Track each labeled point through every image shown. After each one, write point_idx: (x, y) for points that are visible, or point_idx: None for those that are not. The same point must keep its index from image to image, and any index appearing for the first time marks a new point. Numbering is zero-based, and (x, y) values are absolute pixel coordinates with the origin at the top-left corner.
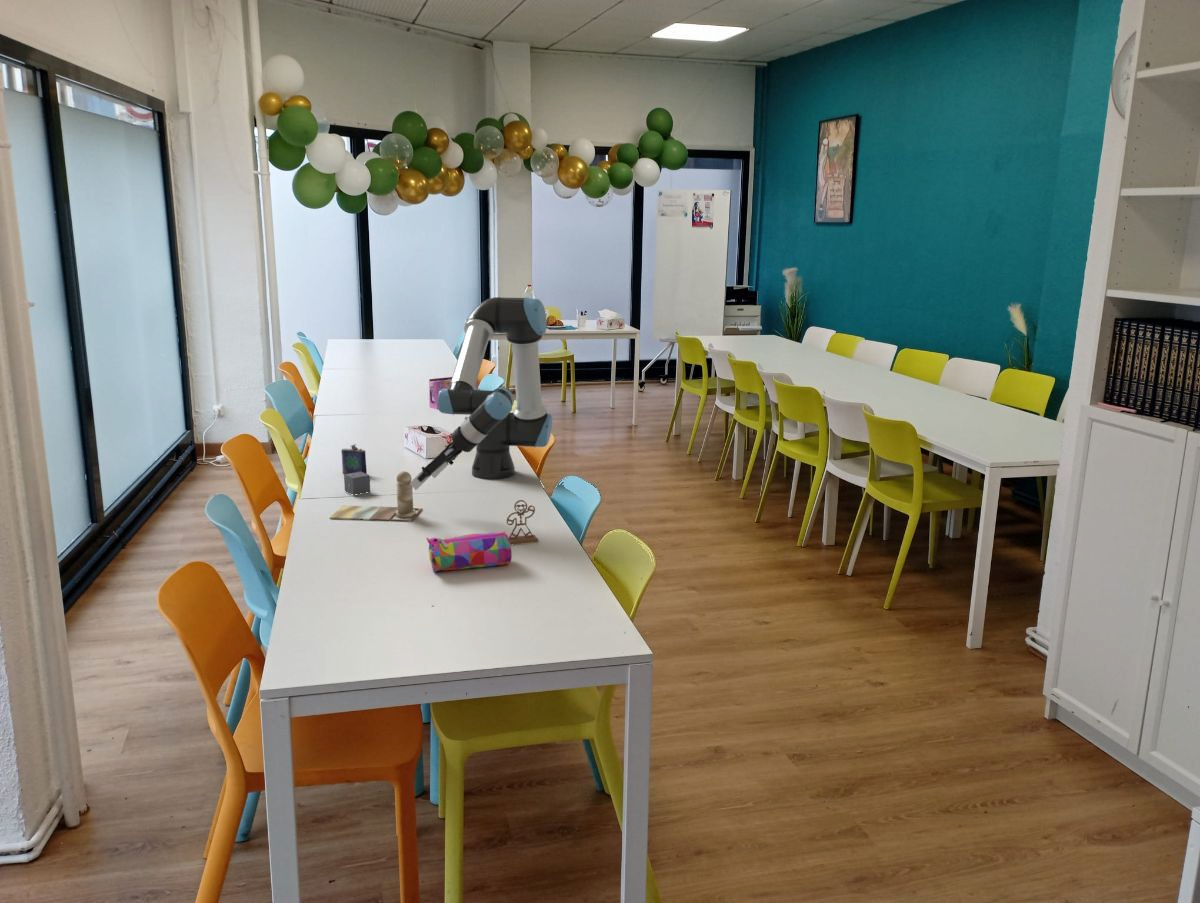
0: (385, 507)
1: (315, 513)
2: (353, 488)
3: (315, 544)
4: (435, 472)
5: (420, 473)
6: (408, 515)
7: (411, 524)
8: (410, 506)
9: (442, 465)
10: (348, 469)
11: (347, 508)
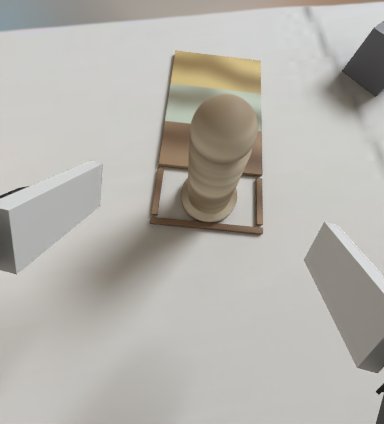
0: (256, 141)
1: (212, 28)
2: (354, 54)
3: (7, 54)
4: (321, 263)
5: (25, 192)
6: (184, 205)
7: (126, 224)
8: (196, 201)
9: (351, 314)
10: None
11: (240, 70)
